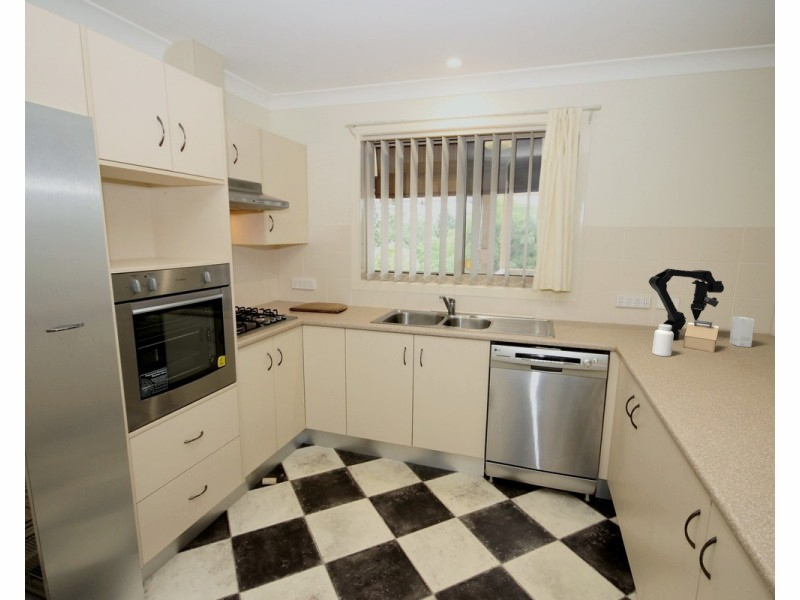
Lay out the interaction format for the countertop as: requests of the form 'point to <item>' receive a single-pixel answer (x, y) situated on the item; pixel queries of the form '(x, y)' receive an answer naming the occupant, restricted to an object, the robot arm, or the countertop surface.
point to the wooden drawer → (699, 344)
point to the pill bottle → (663, 340)
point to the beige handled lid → (702, 330)
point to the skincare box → (741, 331)
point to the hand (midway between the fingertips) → (696, 319)
